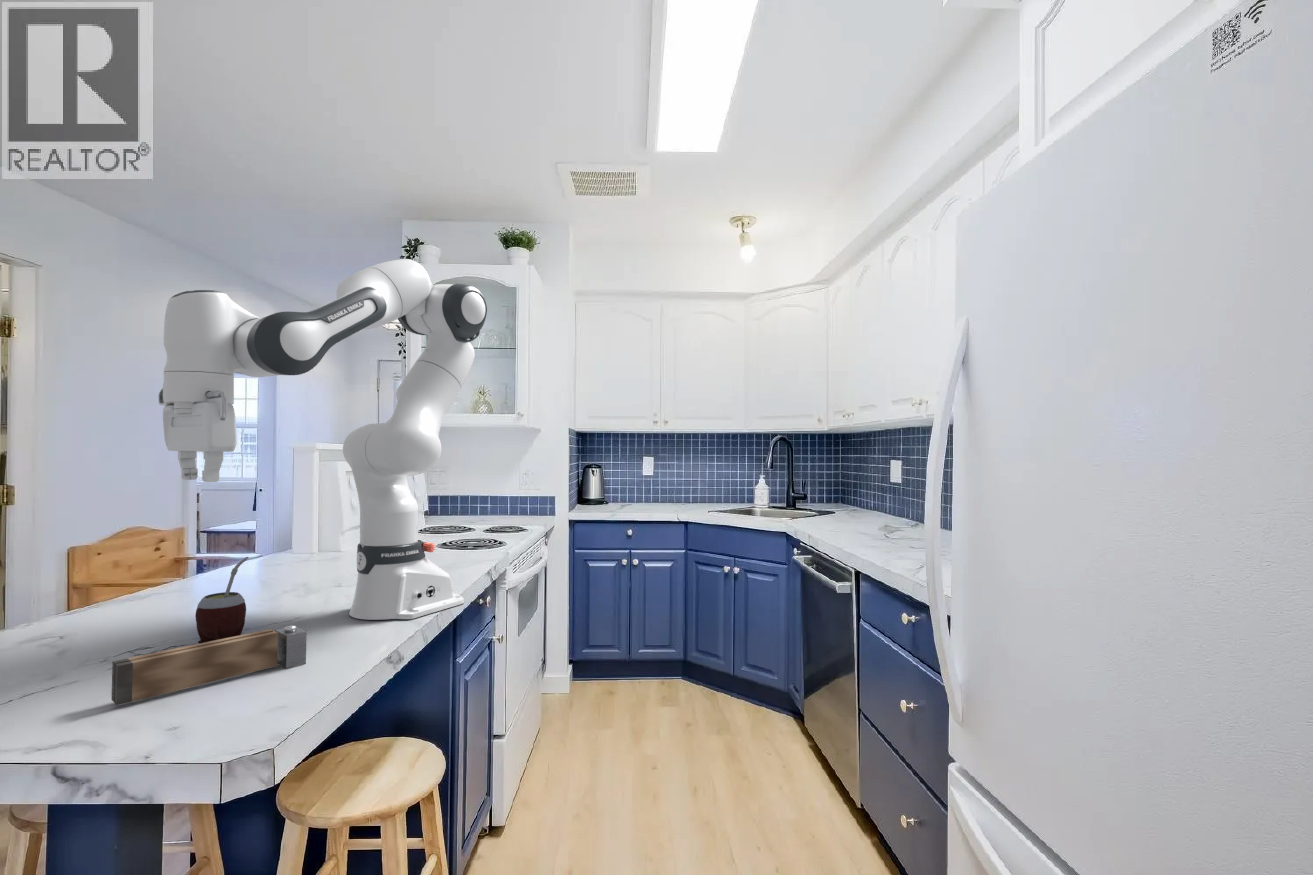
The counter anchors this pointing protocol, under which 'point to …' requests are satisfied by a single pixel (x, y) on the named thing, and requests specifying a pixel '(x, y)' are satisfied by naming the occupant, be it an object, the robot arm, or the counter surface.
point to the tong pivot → (291, 646)
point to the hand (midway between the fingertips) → (199, 480)
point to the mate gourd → (221, 613)
